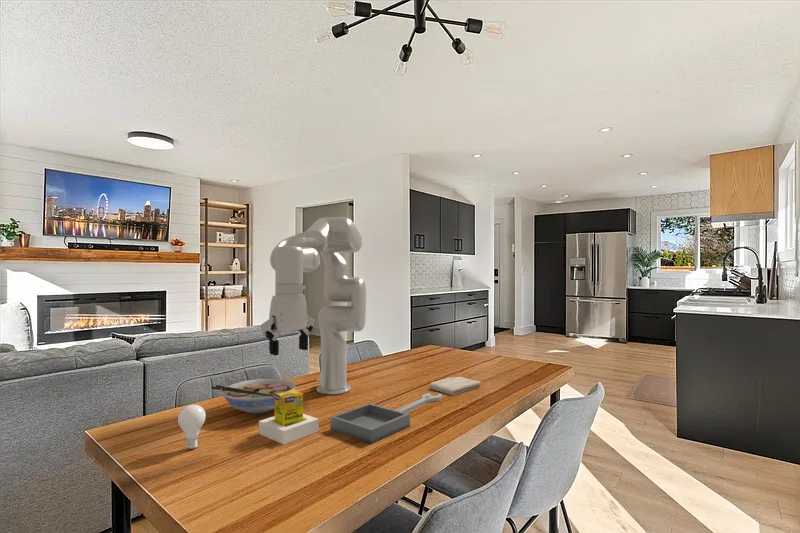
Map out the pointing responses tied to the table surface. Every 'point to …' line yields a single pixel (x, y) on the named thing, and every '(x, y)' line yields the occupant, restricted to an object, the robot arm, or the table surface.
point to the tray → (370, 422)
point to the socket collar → (288, 429)
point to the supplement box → (288, 408)
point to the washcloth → (454, 385)
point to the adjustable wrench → (420, 402)
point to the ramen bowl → (255, 394)
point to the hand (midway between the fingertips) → (289, 352)
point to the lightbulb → (191, 423)
